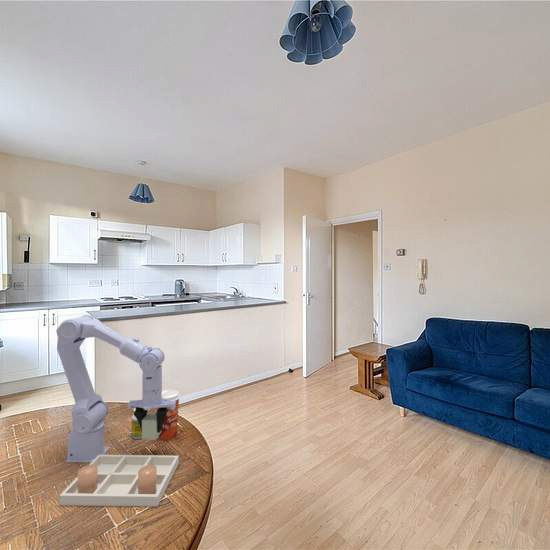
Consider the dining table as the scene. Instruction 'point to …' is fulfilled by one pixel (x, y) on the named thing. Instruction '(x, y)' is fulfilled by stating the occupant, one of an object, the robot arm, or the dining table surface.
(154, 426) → the pale green block
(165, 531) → the dining table surface
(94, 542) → the dining table surface
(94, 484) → the tan rounded cylinder
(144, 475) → the tan rounded capsule part
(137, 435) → the supplement bottle
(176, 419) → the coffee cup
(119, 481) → the white compartment tray
